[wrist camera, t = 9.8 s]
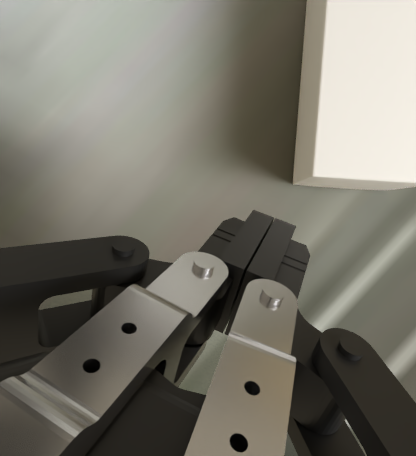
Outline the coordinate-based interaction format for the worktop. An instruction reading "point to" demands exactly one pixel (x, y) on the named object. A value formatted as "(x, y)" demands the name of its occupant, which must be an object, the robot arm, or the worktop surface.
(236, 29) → the worktop surface
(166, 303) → the robot arm
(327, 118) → the milk carton
